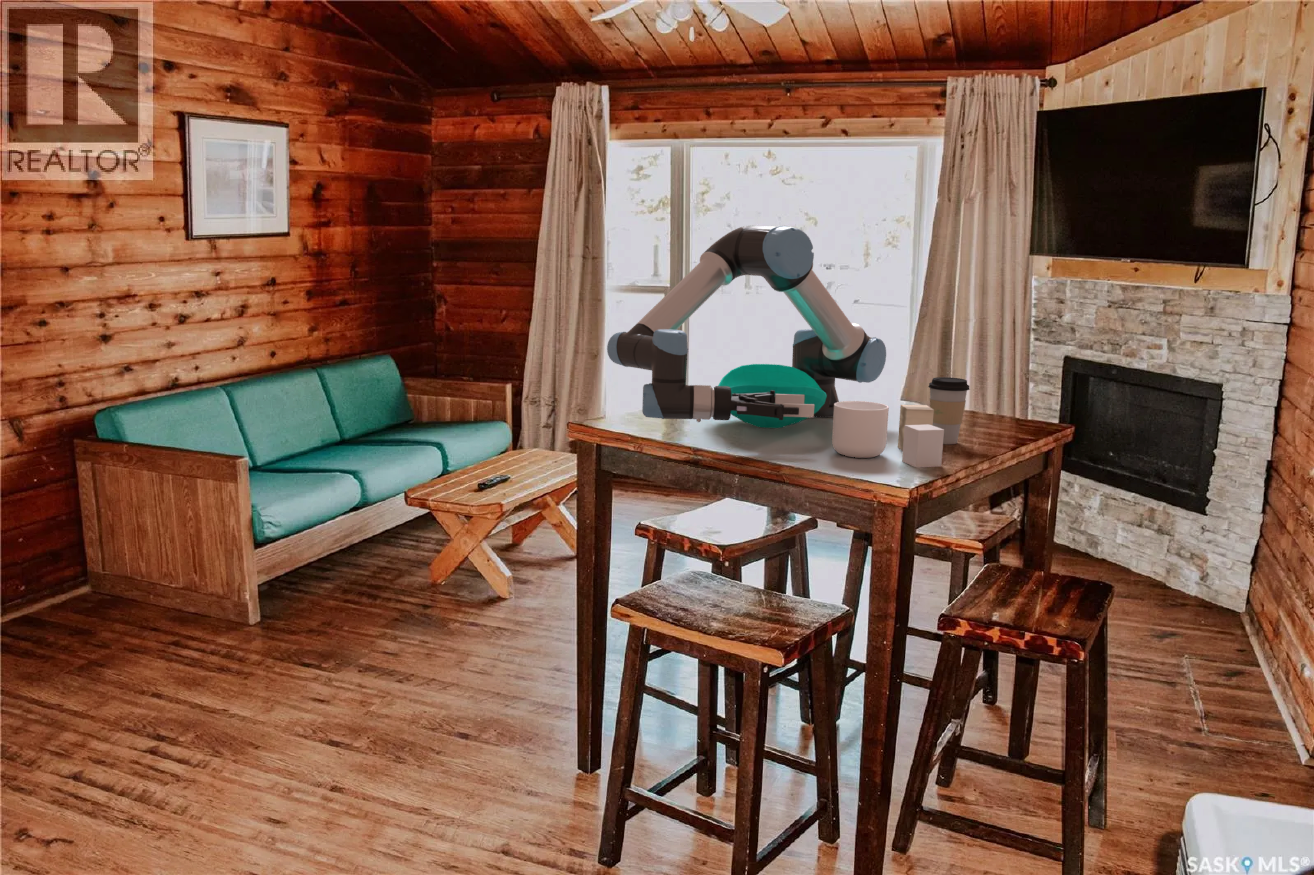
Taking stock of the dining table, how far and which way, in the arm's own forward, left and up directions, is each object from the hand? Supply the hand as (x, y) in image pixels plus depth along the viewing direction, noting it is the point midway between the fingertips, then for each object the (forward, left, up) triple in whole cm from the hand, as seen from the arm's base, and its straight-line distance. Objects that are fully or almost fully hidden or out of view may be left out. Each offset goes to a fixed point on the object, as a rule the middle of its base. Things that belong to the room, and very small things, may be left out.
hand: (808, 405), depth 228 cm
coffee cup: (-16, +36, -11) cm, 41 cm away
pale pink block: (+8, +24, -11) cm, 27 cm away
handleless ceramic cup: (0, +12, -11) cm, 16 cm away
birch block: (-6, +26, -11) cm, 29 cm away
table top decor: (-32, -4, -11) cm, 34 cm away
